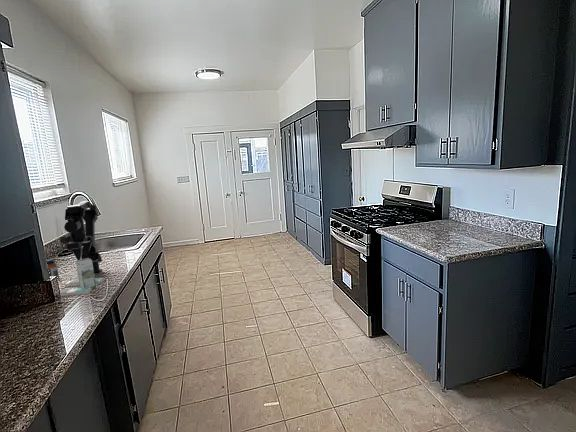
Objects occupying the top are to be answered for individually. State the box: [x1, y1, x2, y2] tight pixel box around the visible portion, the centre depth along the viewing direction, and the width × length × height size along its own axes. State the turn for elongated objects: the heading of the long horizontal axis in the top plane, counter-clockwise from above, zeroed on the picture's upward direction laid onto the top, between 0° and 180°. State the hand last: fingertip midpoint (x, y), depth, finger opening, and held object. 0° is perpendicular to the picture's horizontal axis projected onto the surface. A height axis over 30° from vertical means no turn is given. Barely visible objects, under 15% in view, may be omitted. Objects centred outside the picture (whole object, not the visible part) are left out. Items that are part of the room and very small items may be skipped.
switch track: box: [59, 277, 103, 297], centre depth 170 cm, size 17×17×2 cm
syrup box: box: [75, 258, 97, 288], centre depth 169 cm, size 6×6×14 cm
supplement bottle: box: [46, 258, 60, 279], centre depth 186 cm, size 6×6×11 cm
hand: (82, 257), depth 177 cm, fingers open, 9 cm apart
